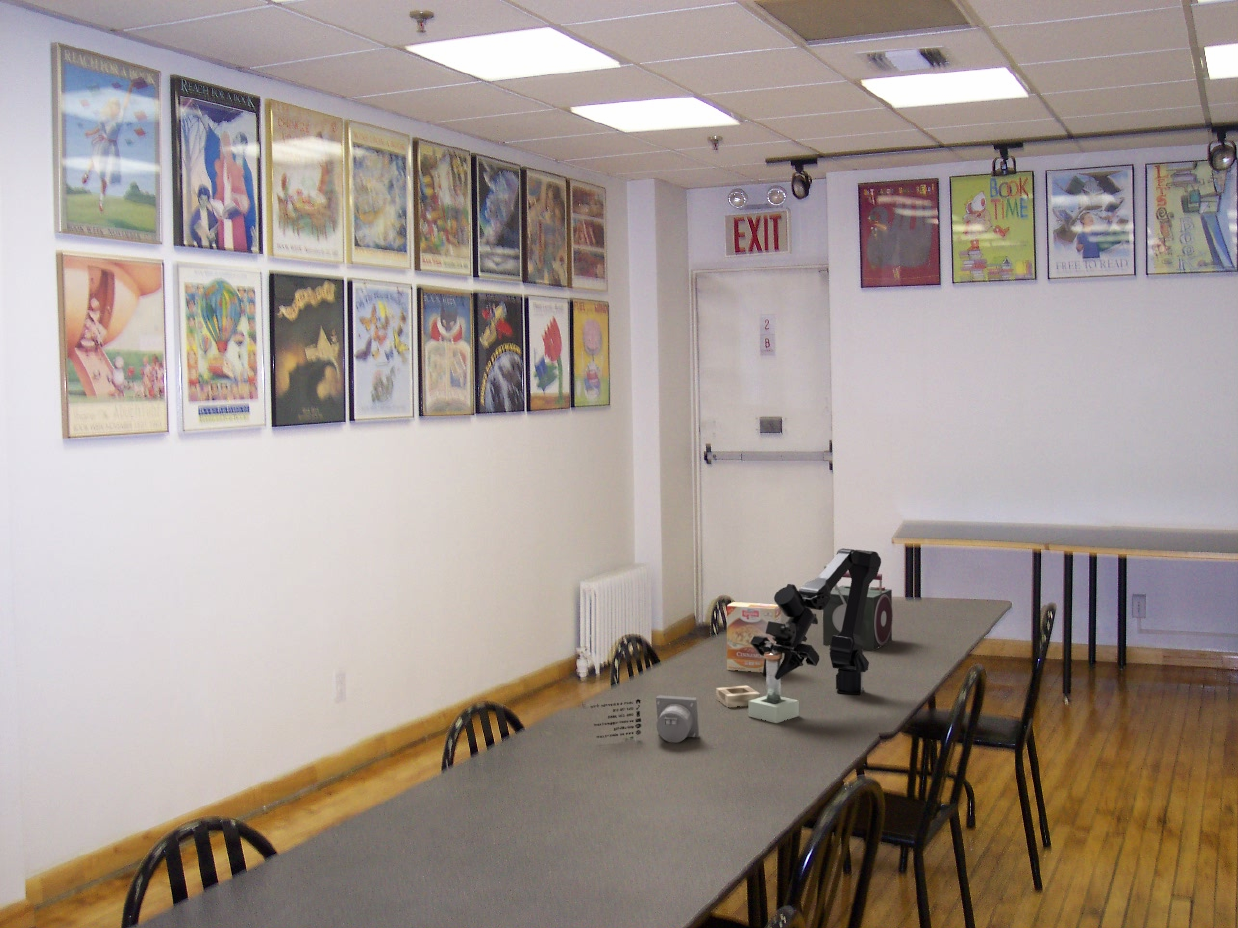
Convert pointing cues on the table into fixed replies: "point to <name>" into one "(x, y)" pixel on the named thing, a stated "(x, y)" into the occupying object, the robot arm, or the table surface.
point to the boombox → (874, 618)
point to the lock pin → (773, 677)
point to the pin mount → (736, 695)
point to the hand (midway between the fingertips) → (770, 677)
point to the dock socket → (773, 709)
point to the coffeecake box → (748, 633)
